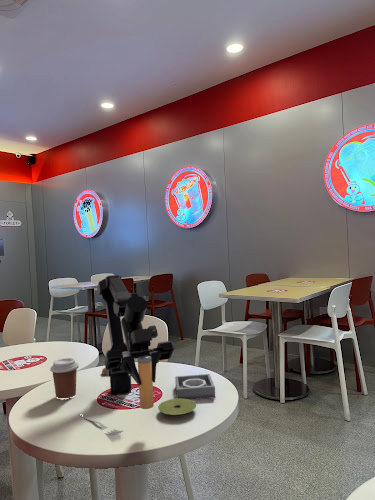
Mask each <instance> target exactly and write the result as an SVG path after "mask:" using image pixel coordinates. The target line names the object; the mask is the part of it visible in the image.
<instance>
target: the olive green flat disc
mask: <svg viewBox="0 0 375 500" xmlns="http://www.w3.org/2000/svg"><path fill="white" fill-rule="evenodd" d="M157 406H158V407H157V409H158V411H159V412H160V413H163V414H165V415H171V416H177V415H185V414H187V413H188V414H189V413H191V412H193V411H194V410H195V409H196V408H197V403H196V401H194V400H193V399H190V400H189V399H182V398H179V399H177V398H171V399H167V400H164V401H162V402H160V403H159V405H157Z"/></svg>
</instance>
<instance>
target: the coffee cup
mask: <svg viewBox="0 0 375 500" xmlns="http://www.w3.org/2000/svg"><path fill="white" fill-rule="evenodd" d="M79 364H80V363H78V362H77V361H76V359H75V358H72V357H65V358H58V359H56V360H54V361H53V364H52V366H50V368H49V370H50V372H51V373H52V378H53V386H54V390H55V391H54V392H55V398H56V397H58V398H70V397H73V396H75V395H76V396H77V370H78V368H79ZM76 396H75V397H76Z"/></svg>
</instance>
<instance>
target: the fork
mask: <svg viewBox="0 0 375 500" xmlns="http://www.w3.org/2000/svg"><path fill="white" fill-rule="evenodd" d="M81 416H82V415H81ZM84 418H85V419H84ZM83 419H84V420H86V419H87V421H89V422H93V423H96V424H98V425H99V426H100V428H101V431H105V430H106V429H108V428H109V427H108V426H106V425H104V424H103V423H102V422H101V421H98V420H96V419H93V418H92V417H90V416H88V415H87V414H85V415H83ZM123 432H124V430H118V429H117V430H116V429H114V428H113V429H111V430H110V431H107V432H105V433H104V434H105V435H107V436H115V435H117V434H119V433H120V434H121V433H123Z"/></svg>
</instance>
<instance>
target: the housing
mask: <svg viewBox="0 0 375 500" xmlns="http://www.w3.org/2000/svg"><path fill="white" fill-rule="evenodd" d="M174 378H175V379H174V380H175V381H174V383H175V390H176V391H175V392H176V399H179V398H182V399H189V400H200V399H201V398H202V399H211V398H210V397H214V398H216V386H215V384H214V381H213V379H212V376H211V375H210V373H204V374H203V373H202V374H191V375H190V374H189V375H177V376H175V377H174Z"/></svg>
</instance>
